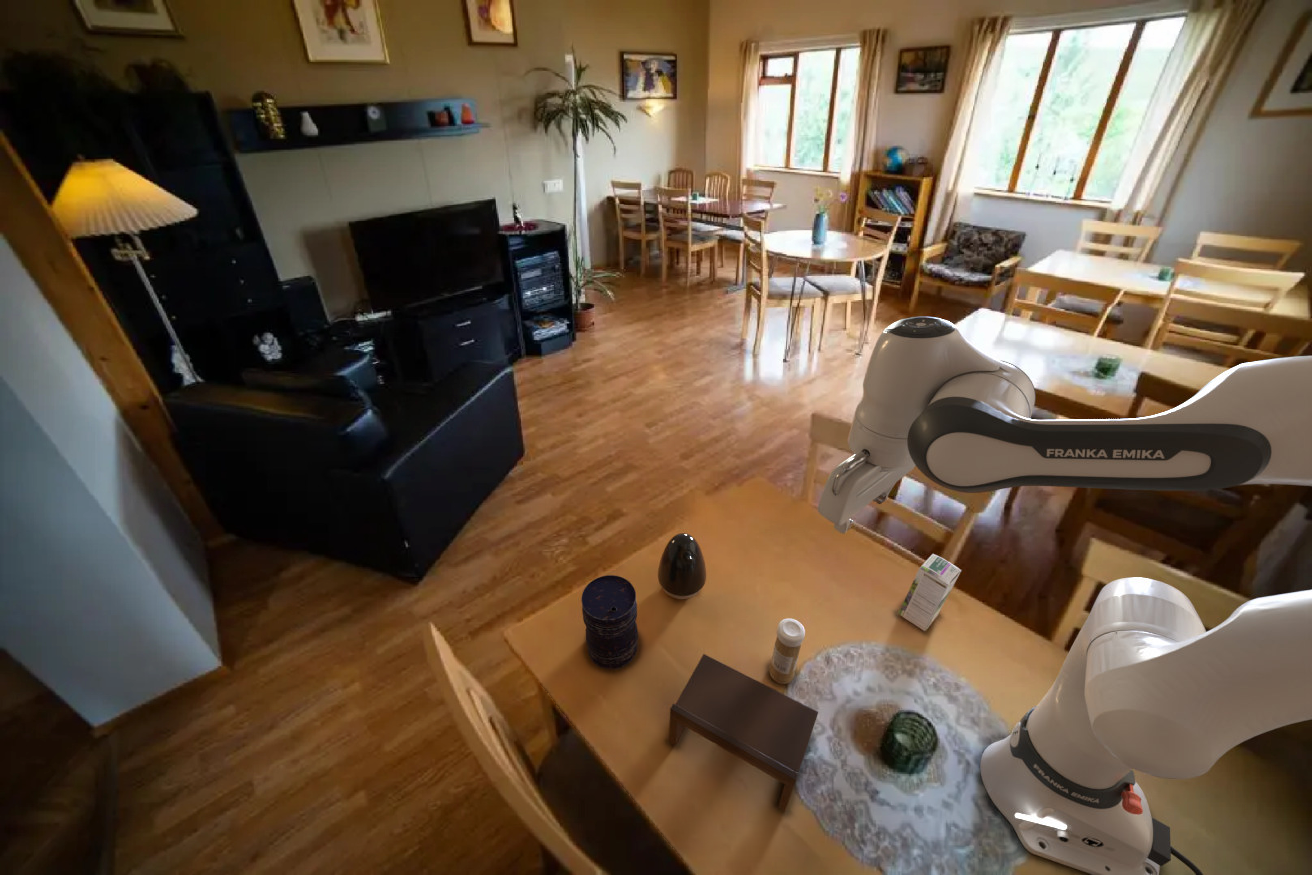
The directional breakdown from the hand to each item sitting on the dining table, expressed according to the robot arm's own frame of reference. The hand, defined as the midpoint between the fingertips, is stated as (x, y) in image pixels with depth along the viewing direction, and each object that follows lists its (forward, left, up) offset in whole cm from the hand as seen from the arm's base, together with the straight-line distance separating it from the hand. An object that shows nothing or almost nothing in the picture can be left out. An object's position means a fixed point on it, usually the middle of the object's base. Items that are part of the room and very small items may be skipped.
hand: (860, 514), depth 78 cm
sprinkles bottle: (+5, +5, -38) cm, 39 cm away
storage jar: (+35, +16, -38) cm, 54 cm away
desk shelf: (+7, +20, -38) cm, 44 cm away
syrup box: (-15, -21, -38) cm, 46 cm away
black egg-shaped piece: (+30, -3, -38) cm, 49 cm away
